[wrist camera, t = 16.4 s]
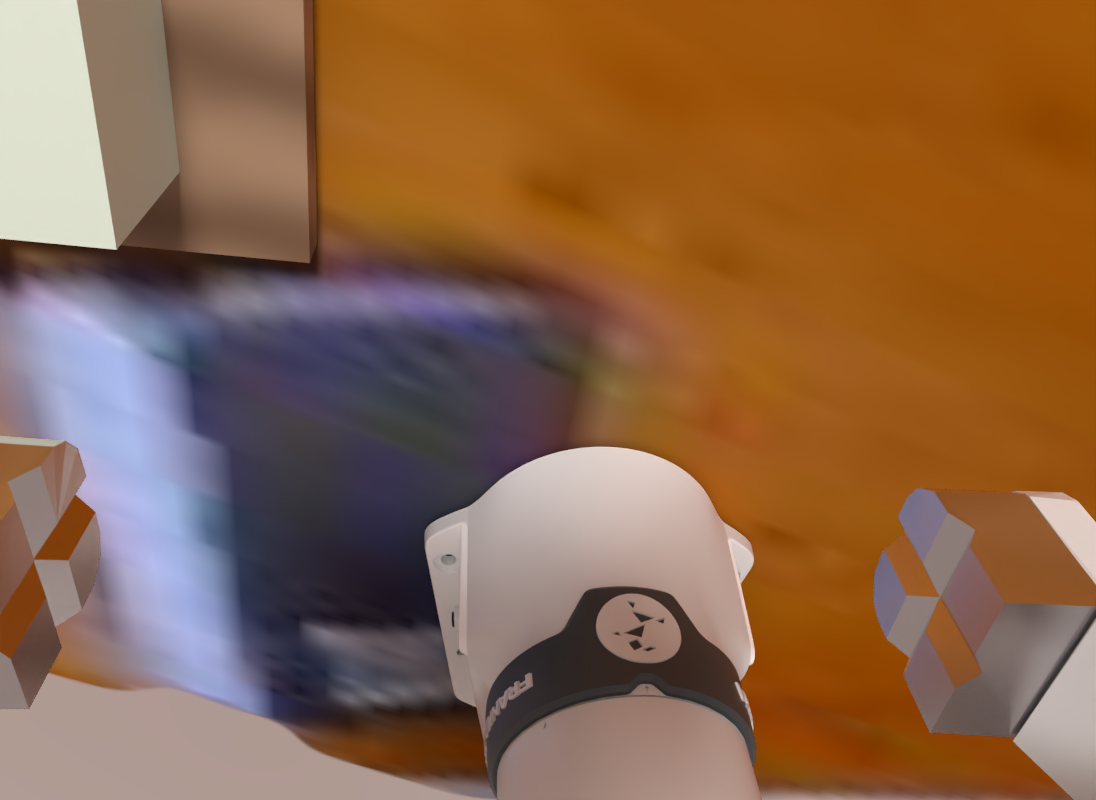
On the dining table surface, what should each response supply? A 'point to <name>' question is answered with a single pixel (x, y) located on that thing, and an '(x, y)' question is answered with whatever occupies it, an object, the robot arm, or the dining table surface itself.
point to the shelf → (239, 131)
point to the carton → (83, 119)
